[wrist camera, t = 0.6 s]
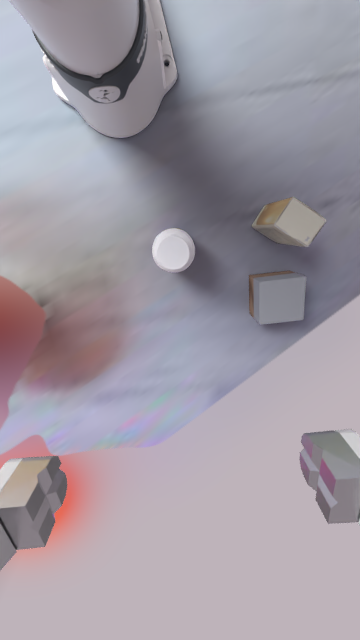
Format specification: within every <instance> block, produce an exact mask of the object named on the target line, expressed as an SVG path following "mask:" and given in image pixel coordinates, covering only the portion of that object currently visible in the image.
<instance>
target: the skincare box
mask: <svg viewBox="0 0 360 640" xmlns="http://www.w3.org/2000/svg"><path fill="white" fill-rule="evenodd" d="M326 221H327V220H326V219H325V218H324V217H322V216H321V215H320V214H319V213H317V212H316V211H314V210H313V209H312V208H310V207H309V206H307V205H306V204H304V203H303V202H301V201H299V200H298V199H296V198H295V197H291V198H288V199H284V200H281V201H277V202H274V203H271V204H267V205H265V206H264V207H263V208H262V210H261V211H260V213H259V214H258V216H257V217H256V219H255V221H254V222H253V224H252V227H253V228H254V229H255V230H257V231H258V232H260V233H261V234H263V235H264V236H266V237H268V238H269V239H271V240H272V241H274V242H276V243H280V244H287V245H295V246H302V247H308V246H309V245H310V244H311V242H312V241H313V240H314V238H315V237H316V236H317V234H318V233H319V231H320V230H321V229H322V227H323V226H324V224H325V223H326Z"/></svg>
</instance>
